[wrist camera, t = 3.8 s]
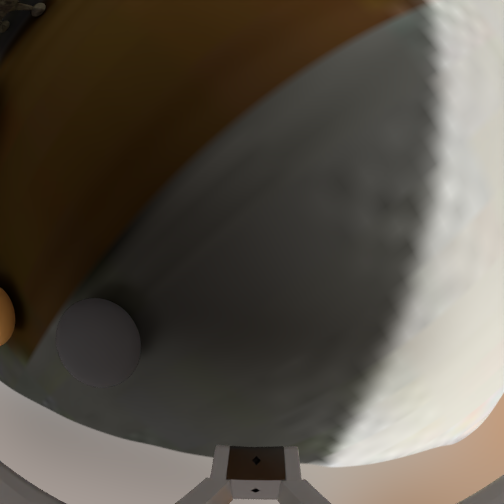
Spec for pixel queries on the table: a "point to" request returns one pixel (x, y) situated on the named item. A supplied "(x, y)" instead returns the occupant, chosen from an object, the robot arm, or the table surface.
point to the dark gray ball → (98, 342)
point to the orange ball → (6, 317)
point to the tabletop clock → (7, 0)
